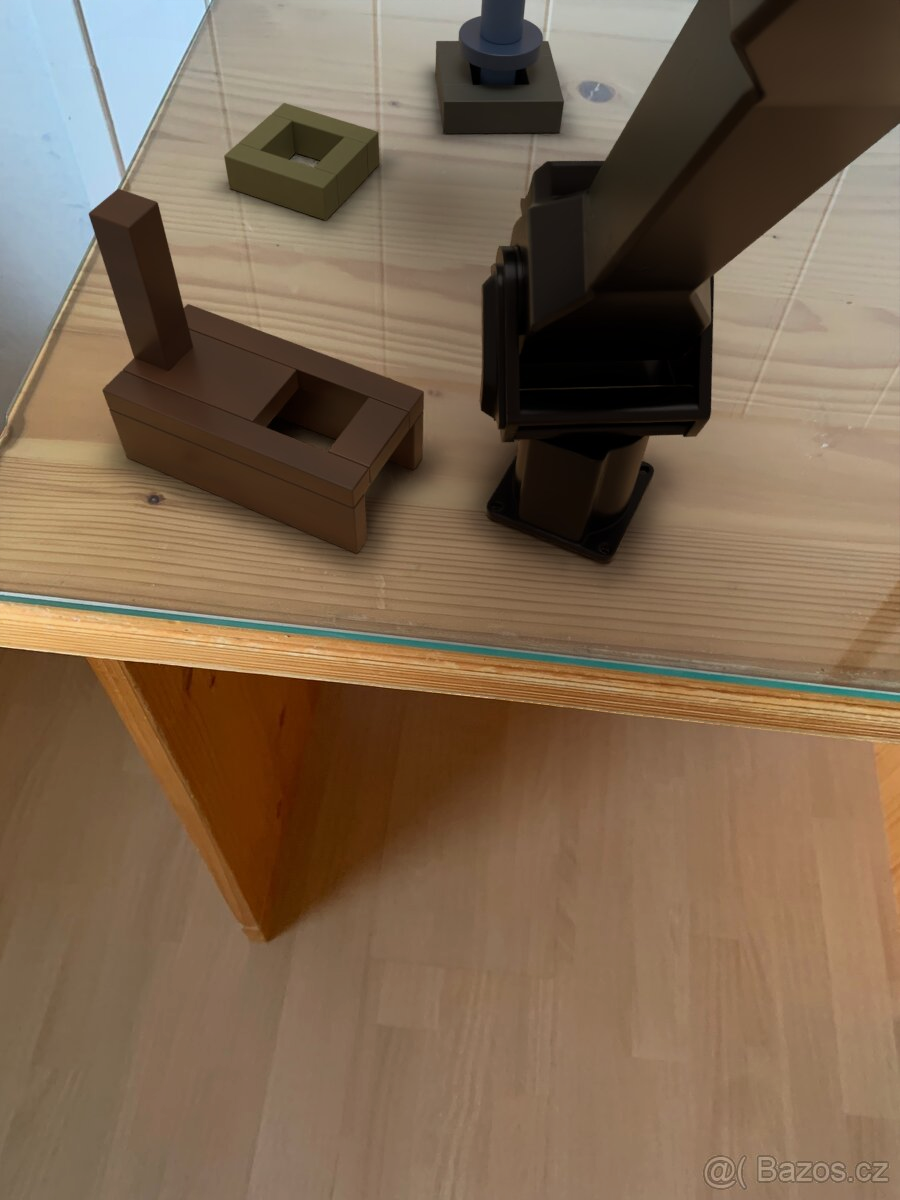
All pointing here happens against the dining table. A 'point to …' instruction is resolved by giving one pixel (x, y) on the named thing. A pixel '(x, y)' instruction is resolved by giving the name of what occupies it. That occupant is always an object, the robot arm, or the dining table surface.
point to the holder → (497, 96)
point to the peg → (500, 41)
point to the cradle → (295, 185)
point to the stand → (243, 395)
